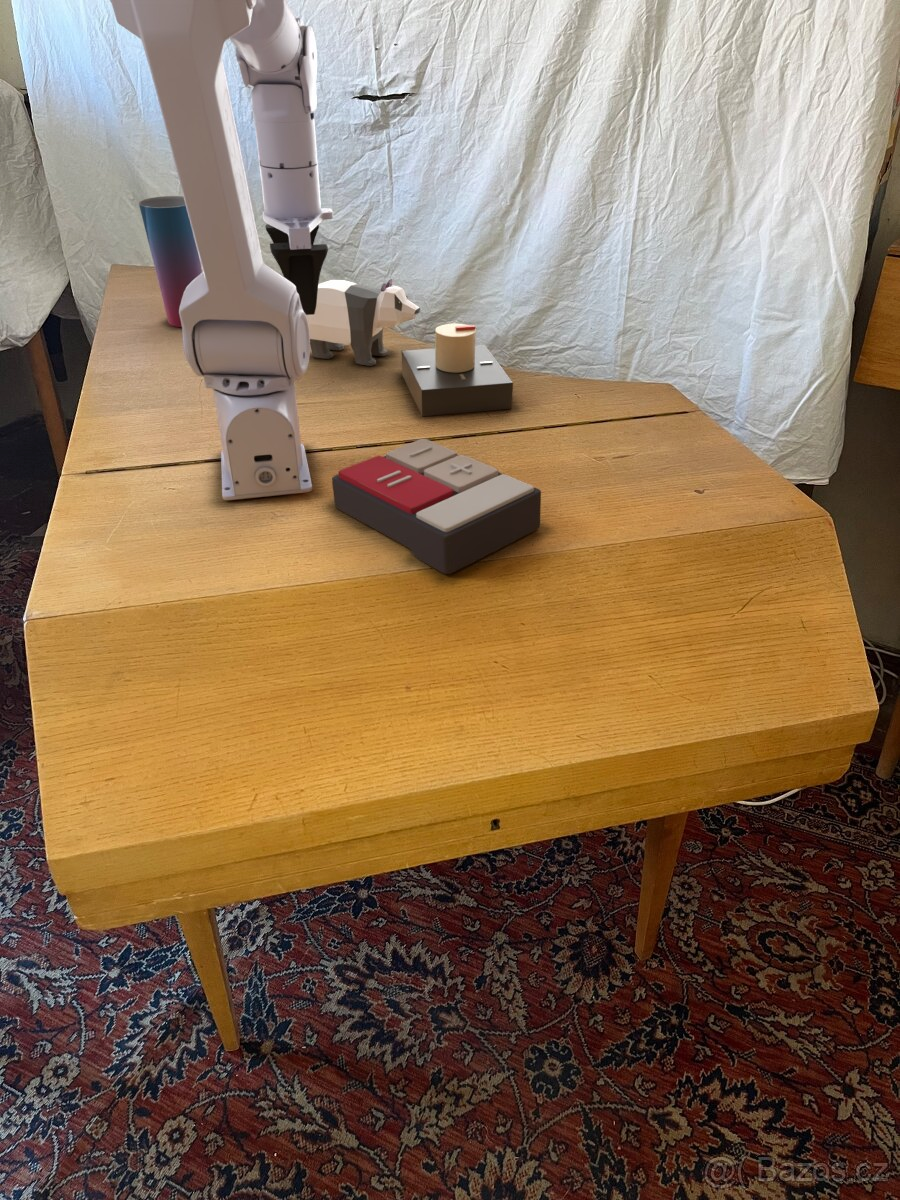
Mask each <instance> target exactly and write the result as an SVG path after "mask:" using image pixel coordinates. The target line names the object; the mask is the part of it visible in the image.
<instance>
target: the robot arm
mask: <svg viewBox="0 0 900 1200" xmlns="http://www.w3.org/2000/svg"><path fill="white" fill-rule="evenodd" d="M109 2H110V3H111V5H112V9H113V13H114V17H115V21H116V22H117V24H118V25H119V26H121V27H122V28H124V29H125V30H127V31H129V32H130V33H131V34H133V35H134V36H136V37H137V38H139V39H140V40H141V44H142V47H143V50H144V53H145V57H146V61H147V64H148V67H149V71H150V75H151V79H152V81H153V85H154V90H155V93H156V98H157V101H158V105H159V108H160V113H161V116H162V119H163V123H164V127H165V132H166V135H167V138H168V142H169V147H170V149H171V150H170V151H171V154H172V159H173V163H174V165H175V169H176V174H177V178H178V181H179V185H180V189H181V192H182V197H184V200H185V204H186V208H187V212H188V216H189V219H190V223H191V227H192V231H193V235H194V239H195V242H196V246H197V250H198V254H199V258H200V261H201V267H202V273H201V274H200V275H199V276H197V277H196V278H195V279H194V280H193V281H192V282H191V283H190V284H189V285H188V286H187V288H186V289H185V291H184V294H183V297H182V300H181V304H180V308H179V315H180V319H181V324H182V327H181V330H182V346H183V351H184V356H185V359H186V362H187V365H188V366H189V368H190V369H191V370H192V372H193V373H194V374H195V375H196V376H197V377H200V378H202V377H203V380H204V387H205V388H206V389H212V392H213V399H214V405H215V410H216V416H217V424H218V429H219V436H220V443H221V449H222V451H220V466H221V468H220V469H221V470H220V471H221V497H222V500H224V501H234V500H235V501H236V500H244V499H245V500H246V499H255V498H263V497H265V498H266V497H272V496H273V497H275V496H285V495H294V494H306V493H310V492H312V491H313V484H312V479H311V474H310V469H309V464H308V459H307V454H306V448H305V445H304V444H303V443H302V439H301V431H300V421H299V412H298V401H297V391H296V381H299V380H301V379H302V378H303V376H304V375H305V373H306V372H307V371H308V368H309V364H310V363H309V362H310V356H311V355H310V354H311V346H310V333H309V325H308V320H307V317H306V315H313V314H315V310H316V304H317V293H318V285H319V284H320V283H319V282H320V276H321V272H322V268H323V265H324V262H325V260H326V257H327V255H328V252H329V247H328V244H327V243H321V244H320V243H319V244H315V240H316V236H317V234H318V231H319V229H320V226H319V225H320V224H321V223H322V222H324V221H326V220H333V219H334V211H333V209H332V208H329V207H324V208H323V207H322V204H321V190H320V189H321V188H320V176H319V164H318V163H319V162H318V149H317V148H318V147H317V136H316V124H315V123H316V122H315V111H316V110H317V108H318V107H317V106H318V104H317V103H318V98H317V97H318V96H317V77H318V50H317V43H316V42H317V41H316V37H315V32H314V29H313V27H312V25H310V24H307V25H306V24H305V22H304V20H303V19H302V18H301V17H299V18H297V17H295V15H294V13H293V11H292V9H291V7H290V4H289V3H288V0H109ZM229 39H230V41H231V42H232V44H233V46H234V47H235V57H236V61H237V63H238V65H239V70H240V74H241V79H242V81H243V84H244V87H245V88H246V89H248V90H251V93H250V94H251V102H252V110H253V119H254V120H253V121H254V128H255V138H256V147H257V156H258V164H259V174H260V181H261V182H260V183H261V190H262V200H263V209H264V211H262V219H263V220H262V221H263V222H264V223H265V226H264V227H265V231H266V232H267V234H268V236H269V238H270V239H271V241H272V243H271V242H270V243H269V248H270V252H271V255H272V257H273V258H274V260H275V262H276V263H277V265H278V267H279V269H280V272H281V273H282V275H281V274H280V273H279V272H277V271H276V270H274V269H273V268H271V267H270V266H269V265H267V264H265V263H264V260H263V255H262V251H261V245H260V240H259V234H258V230H257V225H256V220H255V214H254V211H253V210H254V209H253V205H252V200H251V195H250V190H249V184H248V180H247V176H246V170H245V165H244V160H243V155H242V151H241V150H242V149H241V143H240V140H239V135H238V130H237V125H236V121H235V119H236V118H235V114H234V109H233V104H232V100H231V99H232V98H231V95H230V90H229V85H228V79H227V75H226V70H225V63H224V60H223V52H224V47H225V43H226V41H228V40H229Z"/></svg>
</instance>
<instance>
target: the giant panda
mask: <svg viewBox="0 0 900 1200" xmlns="http://www.w3.org/2000/svg"><path fill="white" fill-rule="evenodd" d="M408 298H409V297H408V295H406V293H405V290H404V288H403V287H400V286H398V285H393V279H392V278H390V279H388V280H387V282H385V283H383V284H381V287H380V289H379V288H374V287H369V286H366V285H362V284H359V283H355V282H352V281H349V280H343V279H330V280H328V281H324V282H321V283H318V293H317V304H316V310H315V314H313V315H306V317H307V320H308V325H309V333H310V351H311V355H312V357H314V358H317V359H325V360H329V359H332V358H333V357H334V354H333V352H332V351H342V350H344V349H345V346H344V345H349V346H350V347H351V349H352V352H353V354H354V355H353V356H354V361H355V364H357V365H362V366H369V367H372V366H375V365H376V363H377V360H376V358H374V357H373V356H377V357H385V356H388V349H386V348H385V347H384V341H383V339H384V328H395V327H398V326H399V325H402V323H406V322H409V321H412V320H414V319H415V318H416V317H417V315H418V314H420V312H421V307H420V306H418V305H417V304H415V303H413V302H412V301H411V300H409V299H408ZM330 350H332V351H330Z"/></svg>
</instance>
